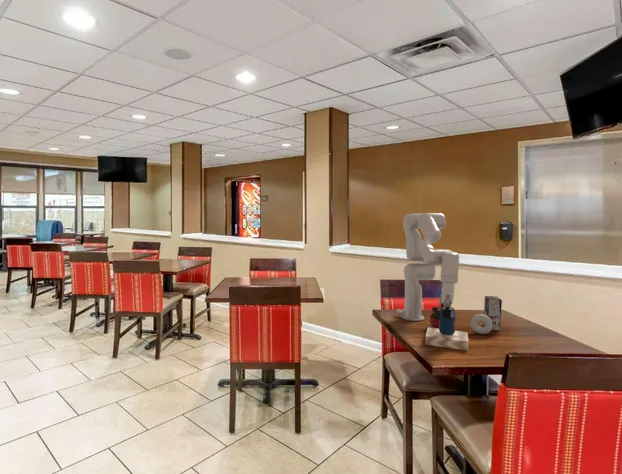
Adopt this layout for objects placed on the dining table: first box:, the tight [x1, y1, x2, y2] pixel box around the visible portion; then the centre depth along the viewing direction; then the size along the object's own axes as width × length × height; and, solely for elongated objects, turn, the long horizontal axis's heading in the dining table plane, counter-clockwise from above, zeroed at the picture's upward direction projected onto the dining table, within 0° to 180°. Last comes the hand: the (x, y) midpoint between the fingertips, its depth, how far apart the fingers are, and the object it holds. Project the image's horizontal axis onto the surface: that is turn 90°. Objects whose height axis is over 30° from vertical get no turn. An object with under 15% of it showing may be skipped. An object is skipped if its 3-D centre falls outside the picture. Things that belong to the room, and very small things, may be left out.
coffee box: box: [483, 295, 503, 331], centre depth 195 cm, size 9×6×16 cm
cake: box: [429, 294, 445, 329], centre depth 190 cm, size 11×9×18 cm
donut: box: [470, 313, 493, 335], centre depth 184 cm, size 10×4×10 cm, turn 66°
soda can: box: [439, 306, 457, 336], centre depth 170 cm, size 7×7×12 cm
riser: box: [424, 326, 469, 351], centre depth 170 cm, size 18×14×4 cm
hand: (446, 314), depth 170 cm, fingers open, 9 cm apart
